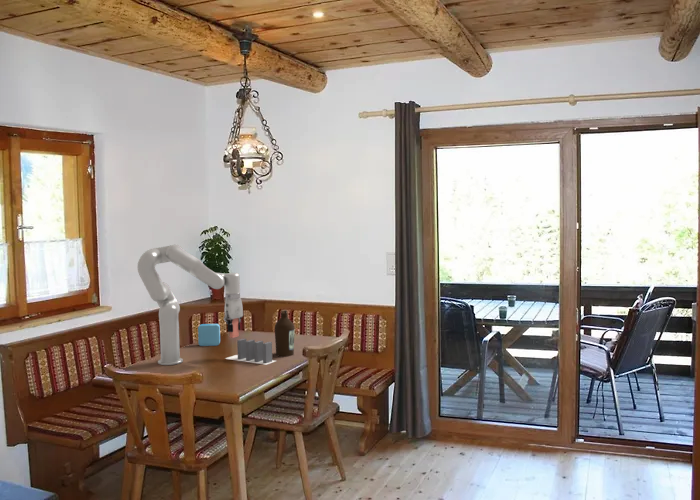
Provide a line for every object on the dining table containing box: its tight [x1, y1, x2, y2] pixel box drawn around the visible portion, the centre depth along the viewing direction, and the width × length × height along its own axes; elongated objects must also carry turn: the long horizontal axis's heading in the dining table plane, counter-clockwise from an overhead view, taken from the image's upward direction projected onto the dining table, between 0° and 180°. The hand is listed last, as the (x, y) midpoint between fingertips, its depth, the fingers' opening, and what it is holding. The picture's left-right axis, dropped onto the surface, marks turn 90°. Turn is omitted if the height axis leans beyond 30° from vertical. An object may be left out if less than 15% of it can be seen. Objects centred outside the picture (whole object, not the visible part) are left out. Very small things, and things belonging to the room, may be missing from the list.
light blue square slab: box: [197, 323, 221, 347], centre depth 377 cm, size 12×4×12 cm, turn 96°
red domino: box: [229, 318, 240, 339], centre depth 341 cm, size 2×5×10 cm, turn 150°
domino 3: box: [254, 340, 264, 362], centre depth 334 cm, size 2×5×10 cm, turn 150°
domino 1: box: [237, 338, 248, 360], centre depth 340 cm, size 2×5×10 cm, turn 151°
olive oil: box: [274, 309, 295, 357], centre depth 347 cm, size 11×11×25 cm
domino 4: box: [263, 341, 273, 363], centre depth 331 cm, size 2×5×10 cm, turn 150°
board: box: [224, 354, 276, 366], centre depth 337 cm, size 27×9×1 cm, turn 60°
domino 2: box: [246, 339, 256, 361], centre depth 337 cm, size 2×5×10 cm, turn 150°
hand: (234, 330), depth 342 cm, fingers closed on red domino, 4 cm apart
